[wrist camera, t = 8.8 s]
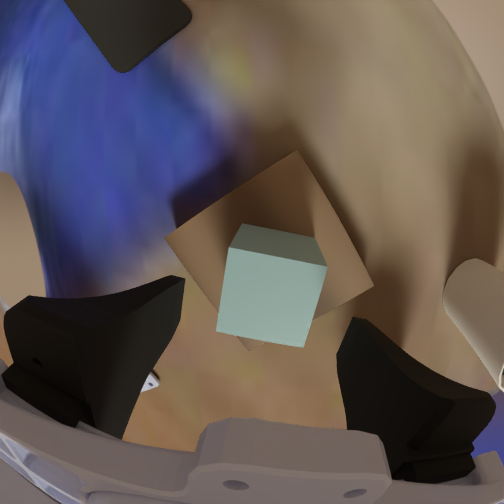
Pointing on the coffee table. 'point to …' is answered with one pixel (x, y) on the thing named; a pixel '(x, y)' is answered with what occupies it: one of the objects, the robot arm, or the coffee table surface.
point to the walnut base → (278, 218)
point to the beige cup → (479, 311)
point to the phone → (130, 26)
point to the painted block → (271, 285)
